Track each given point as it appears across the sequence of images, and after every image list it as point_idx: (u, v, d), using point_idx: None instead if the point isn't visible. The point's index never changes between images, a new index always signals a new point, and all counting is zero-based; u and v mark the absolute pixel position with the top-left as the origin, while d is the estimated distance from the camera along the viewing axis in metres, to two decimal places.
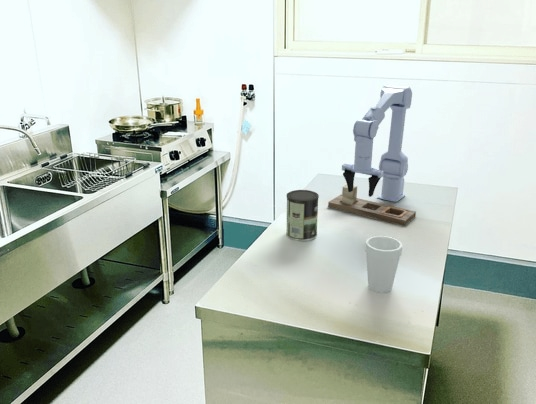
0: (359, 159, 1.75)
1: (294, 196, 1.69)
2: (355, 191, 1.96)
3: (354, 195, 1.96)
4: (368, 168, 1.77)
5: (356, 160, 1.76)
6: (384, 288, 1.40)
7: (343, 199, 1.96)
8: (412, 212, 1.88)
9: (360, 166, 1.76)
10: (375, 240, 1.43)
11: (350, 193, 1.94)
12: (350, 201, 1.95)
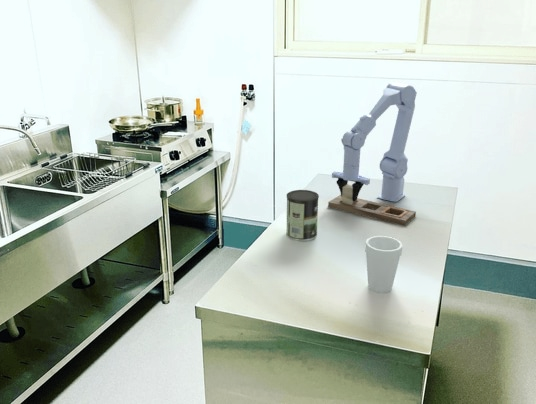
0: (347, 168, 1.90)
1: (294, 196, 1.69)
2: None
3: None
4: (356, 176, 1.92)
5: (345, 168, 1.91)
6: (384, 288, 1.40)
7: (343, 199, 1.96)
8: (412, 212, 1.88)
9: (348, 174, 1.91)
10: (375, 240, 1.43)
11: (350, 193, 1.94)
12: (350, 201, 1.95)
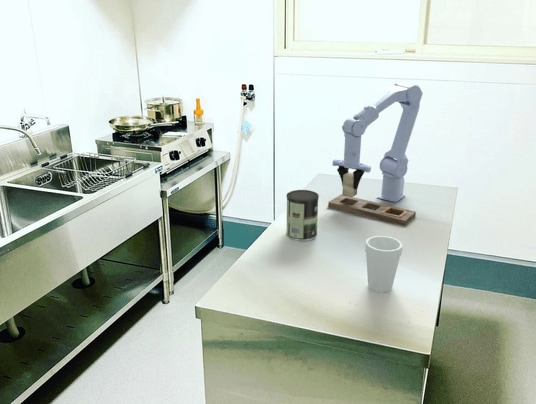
0: (348, 155, 1.89)
1: (294, 196, 1.69)
2: None
3: None
4: (357, 163, 1.90)
5: (345, 156, 1.90)
6: (384, 288, 1.40)
7: (344, 187, 1.95)
8: (412, 212, 1.88)
9: (349, 161, 1.89)
10: (375, 240, 1.43)
11: (351, 181, 1.92)
12: (351, 189, 1.93)
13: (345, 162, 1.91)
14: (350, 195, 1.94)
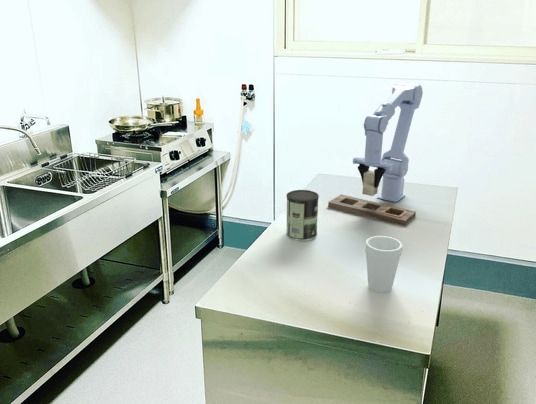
0: (369, 152, 1.84)
1: (294, 196, 1.69)
2: None
3: None
4: (378, 161, 1.85)
5: (366, 153, 1.85)
6: (384, 288, 1.40)
7: (364, 186, 1.90)
8: (412, 212, 1.88)
9: (370, 159, 1.84)
10: (375, 240, 1.43)
11: (372, 179, 1.87)
12: (371, 187, 1.88)
13: (366, 160, 1.86)
14: (370, 194, 1.89)
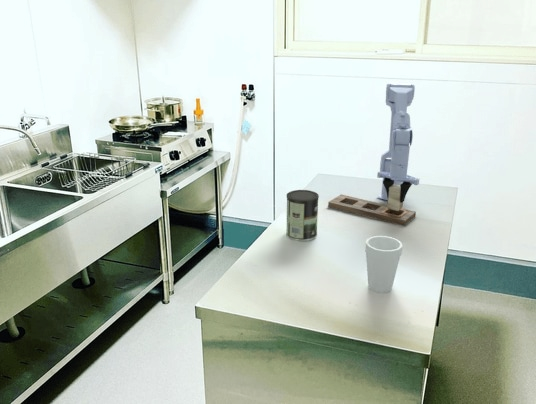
0: (396, 167, 1.79)
1: (294, 196, 1.69)
2: None
3: None
4: (404, 176, 1.81)
5: (392, 168, 1.81)
6: (384, 288, 1.40)
7: (389, 200, 1.85)
8: (412, 212, 1.88)
9: (396, 173, 1.80)
10: (375, 240, 1.43)
11: (397, 194, 1.83)
12: (397, 202, 1.84)
13: (392, 174, 1.81)
14: (396, 209, 1.85)
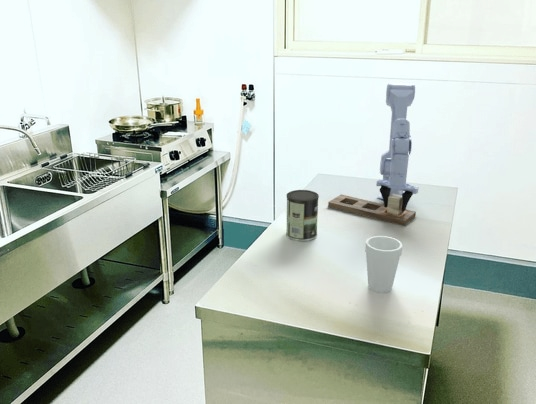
0: (395, 176, 1.81)
1: (294, 196, 1.69)
2: (401, 202, 1.86)
3: (400, 206, 1.86)
4: (403, 184, 1.82)
5: (392, 176, 1.82)
6: (384, 288, 1.40)
7: (388, 210, 1.87)
8: (412, 212, 1.88)
9: (395, 182, 1.81)
10: (375, 240, 1.43)
11: (396, 204, 1.84)
12: (396, 211, 1.85)
13: (391, 183, 1.83)
14: None
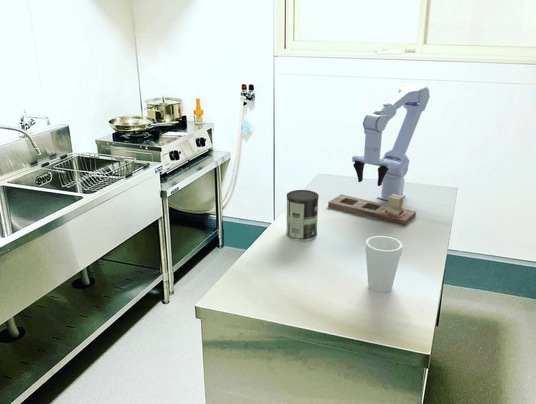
0: (369, 151, 1.88)
1: (294, 196, 1.69)
2: (401, 202, 1.86)
3: (400, 206, 1.86)
4: (377, 159, 1.89)
5: (366, 152, 1.89)
6: (384, 288, 1.40)
7: (388, 210, 1.87)
8: (412, 212, 1.88)
9: (369, 157, 1.88)
10: (375, 240, 1.43)
11: (396, 204, 1.84)
12: (396, 211, 1.85)
13: (365, 158, 1.89)
14: None
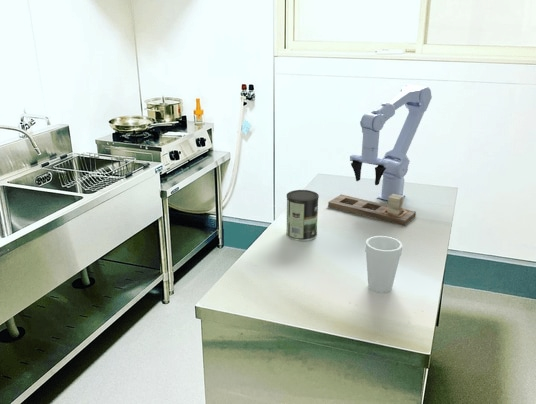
0: (366, 150, 1.88)
1: (294, 196, 1.69)
2: (401, 202, 1.86)
3: (400, 206, 1.86)
4: (374, 158, 1.90)
5: (363, 151, 1.90)
6: (384, 288, 1.40)
7: (388, 210, 1.87)
8: (412, 212, 1.88)
9: (367, 156, 1.89)
10: (375, 240, 1.43)
11: (396, 204, 1.84)
12: (396, 211, 1.85)
13: (363, 157, 1.90)
14: None
